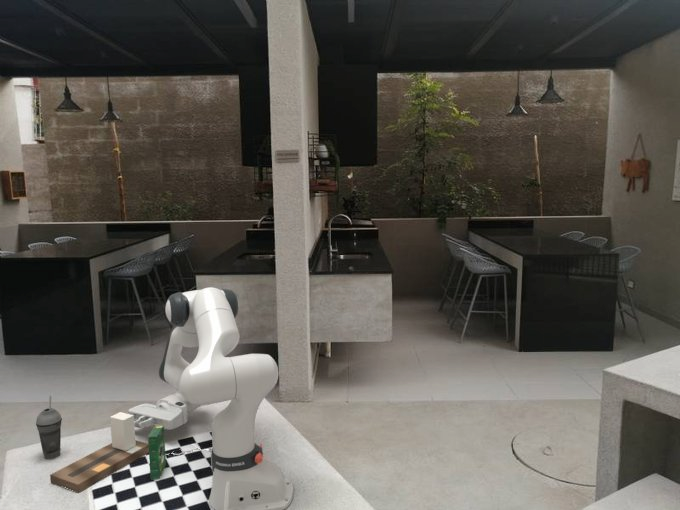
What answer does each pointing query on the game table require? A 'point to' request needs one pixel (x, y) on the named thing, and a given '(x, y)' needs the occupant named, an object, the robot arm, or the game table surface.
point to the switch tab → (122, 431)
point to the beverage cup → (50, 432)
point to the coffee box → (157, 452)
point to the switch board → (97, 466)
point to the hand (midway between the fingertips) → (136, 425)
